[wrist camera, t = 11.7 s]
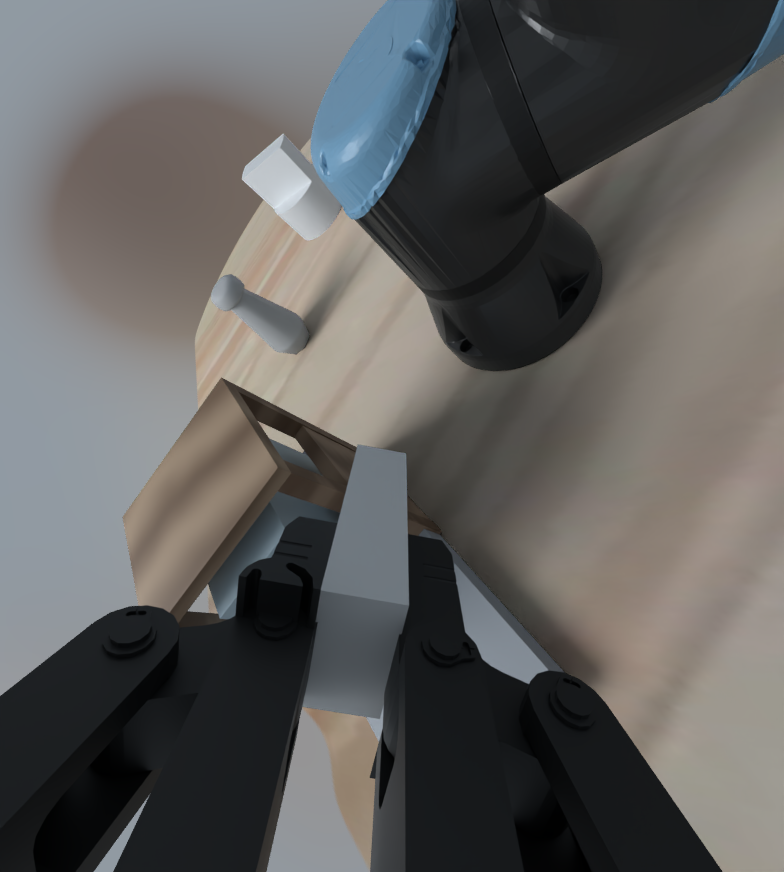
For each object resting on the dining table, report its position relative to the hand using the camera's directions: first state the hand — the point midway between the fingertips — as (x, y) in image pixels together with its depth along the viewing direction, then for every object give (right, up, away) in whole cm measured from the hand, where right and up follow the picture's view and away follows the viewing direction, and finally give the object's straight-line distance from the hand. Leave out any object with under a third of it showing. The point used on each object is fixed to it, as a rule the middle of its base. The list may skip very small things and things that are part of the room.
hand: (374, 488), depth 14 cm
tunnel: (-2, -9, +29) cm, 31 cm away
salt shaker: (-12, +15, +49) cm, 53 cm away
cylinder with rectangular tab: (-11, +37, +59) cm, 70 cm away
